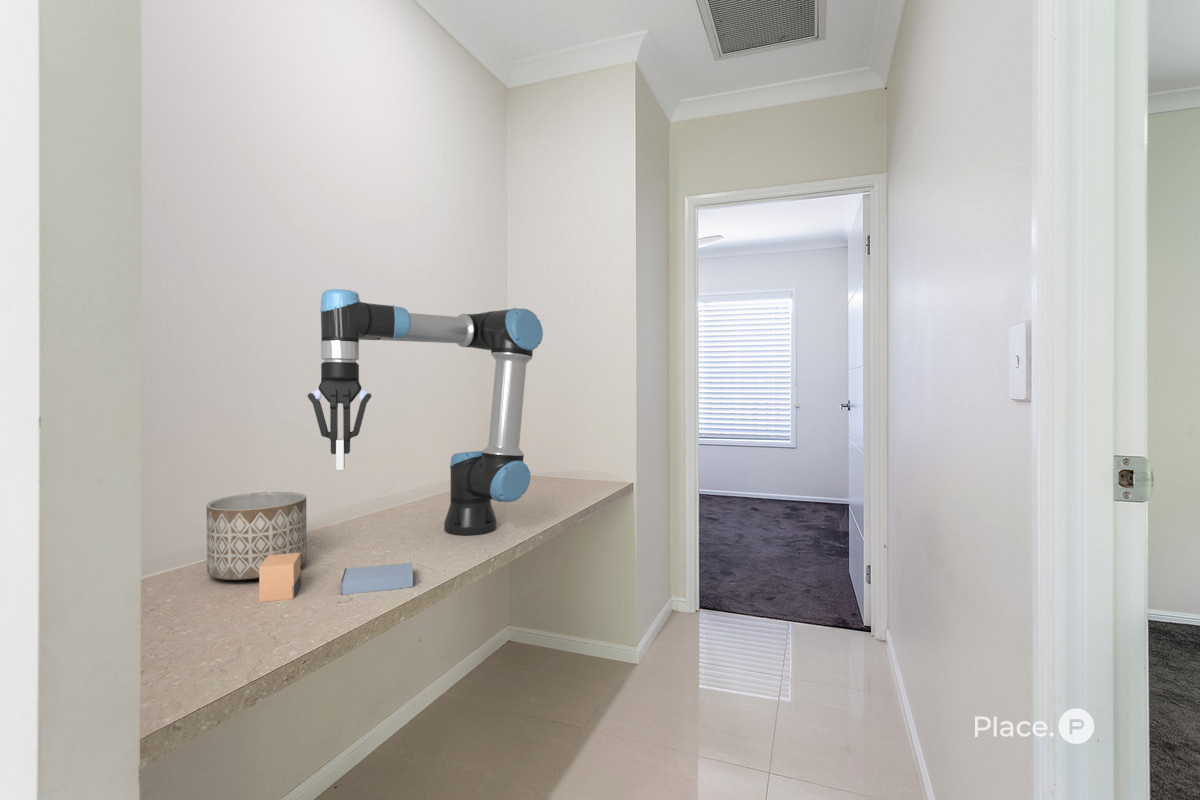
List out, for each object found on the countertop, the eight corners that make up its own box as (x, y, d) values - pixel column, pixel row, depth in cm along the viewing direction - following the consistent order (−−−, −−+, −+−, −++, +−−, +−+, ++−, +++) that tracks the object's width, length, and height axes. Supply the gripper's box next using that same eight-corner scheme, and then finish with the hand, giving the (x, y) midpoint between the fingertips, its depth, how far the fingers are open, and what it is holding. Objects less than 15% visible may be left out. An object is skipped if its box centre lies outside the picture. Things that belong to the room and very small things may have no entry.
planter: (302, 553, 142) (302, 488, 141) (310, 576, 126) (310, 503, 125) (209, 566, 131) (208, 496, 131) (205, 593, 115) (204, 513, 115)
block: (300, 584, 121) (300, 552, 120) (293, 598, 113) (293, 564, 113) (268, 588, 119) (268, 555, 118) (259, 602, 111) (259, 567, 111)
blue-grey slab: (412, 573, 129) (412, 562, 128) (412, 587, 120) (412, 575, 120) (345, 579, 124) (345, 568, 124) (340, 594, 115) (340, 582, 115)
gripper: (373, 362, 129) (373, 465, 130) (309, 361, 125) (310, 467, 126) (371, 361, 122) (371, 470, 123) (304, 360, 118) (304, 472, 119)
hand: (340, 468), depth 124 cm, fingers closed
